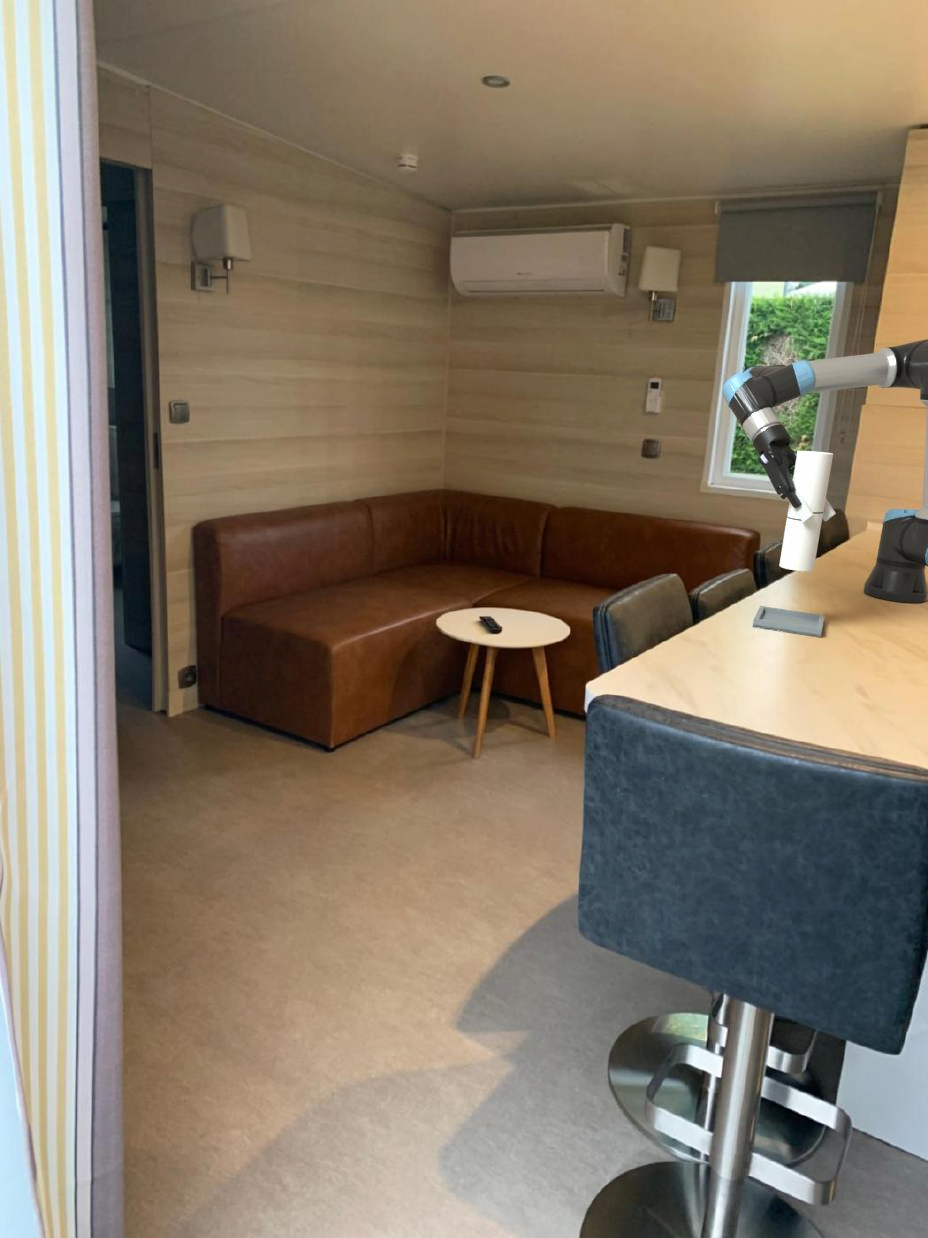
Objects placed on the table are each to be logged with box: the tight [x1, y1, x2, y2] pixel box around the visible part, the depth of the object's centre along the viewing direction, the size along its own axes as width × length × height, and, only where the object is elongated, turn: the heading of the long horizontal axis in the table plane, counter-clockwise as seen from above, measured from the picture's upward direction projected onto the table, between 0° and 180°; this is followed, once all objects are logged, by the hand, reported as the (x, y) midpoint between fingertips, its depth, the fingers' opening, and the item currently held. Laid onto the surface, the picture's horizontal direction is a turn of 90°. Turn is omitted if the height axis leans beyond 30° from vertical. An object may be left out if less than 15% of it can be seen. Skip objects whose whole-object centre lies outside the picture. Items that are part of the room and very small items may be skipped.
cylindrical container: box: [779, 450, 834, 572], centre depth 192 cm, size 7×7×25 cm
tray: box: [752, 605, 825, 638], centre depth 198 cm, size 14×14×2 cm
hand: (819, 518), depth 189 cm, fingers closed on cylindrical container, 7 cm apart
